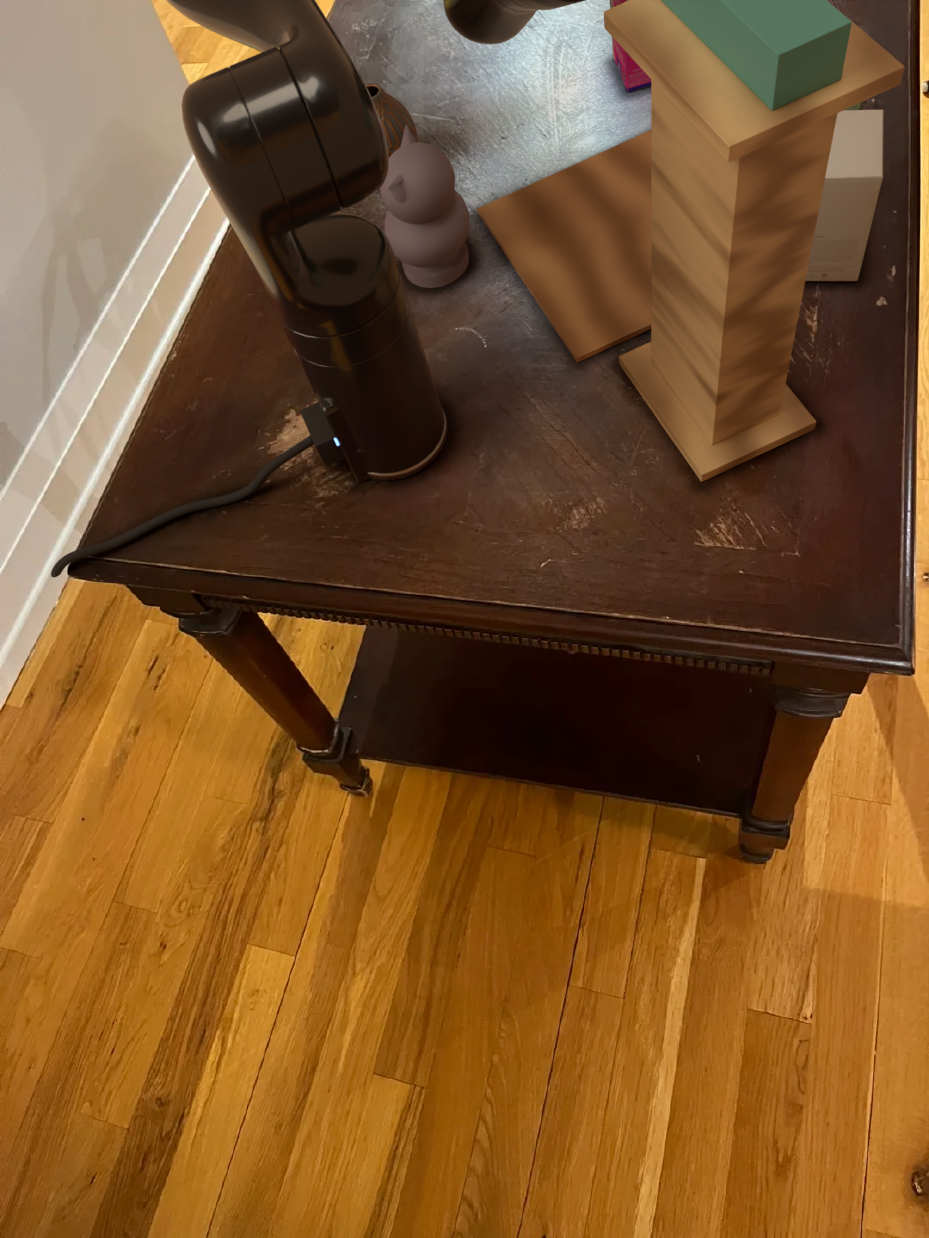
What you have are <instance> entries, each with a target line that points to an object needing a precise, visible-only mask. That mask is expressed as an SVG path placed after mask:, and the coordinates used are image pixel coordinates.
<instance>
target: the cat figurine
mask: <svg viewBox="0 0 929 1238" xmlns="http://www.w3.org/2000/svg"><path fill="white" fill-rule="evenodd" d="M455 188H456V174H455V170H454V167H453V165H452V162H451V161H450V159H449V157H448V156H447V155H446V154H445V152H443V151H442V150H441V149H440V148H438V147H437V146H435V145H432V144H429V143H426V142H419V141H418V142H416V140H415V138H414V137H413V135H412V133H411V131H410V130H409V128H408V126H407V124H406V125H405V130H404V134H403V139H402V143H401V148H399V149H398V150H396V151H395V152H394V153H393V154H392V155H391V156H390V157H389V166H388V173H387V176H386V179H385V181H384V183H383V185H382V186H381V187H380V188H379V192H380V195H381V198H382V202H383V203H384V206H385V208H386V209H387V212H386V214H385V216H384V218H385V219H384V231H383V232H384V234H385V235H386V236H387V238H388V240H389V242H390V244H391V247H392V249H393V252H394V255H395V257H396V258H397V259H398V260H399V261H400V262H401V265H402V269H403V272H404V274H405V277H406V279H408V280H409V281H410V283H412V284H413V285H415V286H418V287H421V288H427V289H434V288H441V287H444V286H447V285H449V284H452V283H454V282H455V281H456V280H457V279H459V278H460V277H461V276H463V274H464V273H465V272H466V270H467V268H468V265H469V263H470V255H469V254H470V253H469V250H468V249H469V248H468V245H467V241H466V240H467V237H468V234H469V231H470V211H469V208H468V206H467V204H466V202H465V199H464V197H463V195H461V194H460V193H459V192H458V191H457V190H456V189H455Z"/></svg>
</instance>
